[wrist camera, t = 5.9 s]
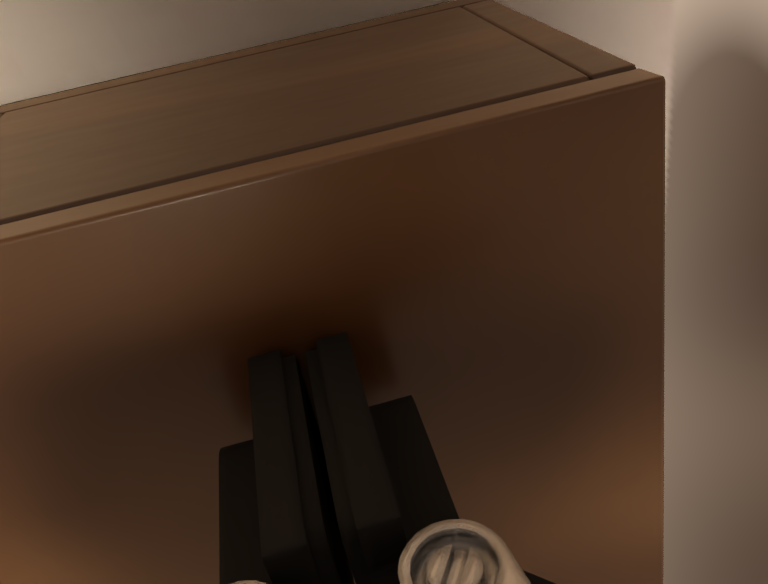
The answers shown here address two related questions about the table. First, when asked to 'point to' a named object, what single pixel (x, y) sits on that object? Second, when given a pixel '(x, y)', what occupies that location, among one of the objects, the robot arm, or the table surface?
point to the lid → (354, 335)
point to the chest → (278, 101)
